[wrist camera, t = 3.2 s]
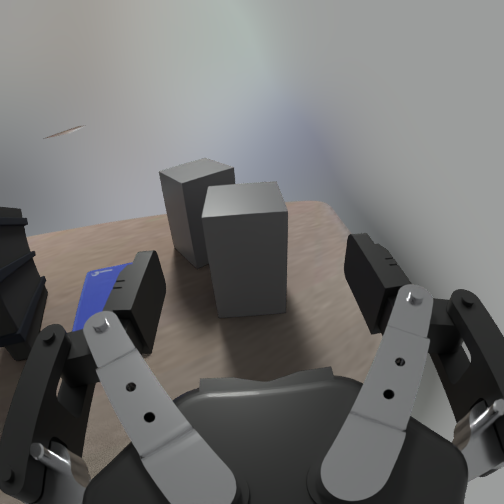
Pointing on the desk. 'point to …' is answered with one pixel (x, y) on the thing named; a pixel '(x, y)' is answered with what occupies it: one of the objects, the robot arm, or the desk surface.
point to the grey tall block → (191, 203)
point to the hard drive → (95, 293)
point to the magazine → (18, 287)
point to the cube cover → (247, 248)
